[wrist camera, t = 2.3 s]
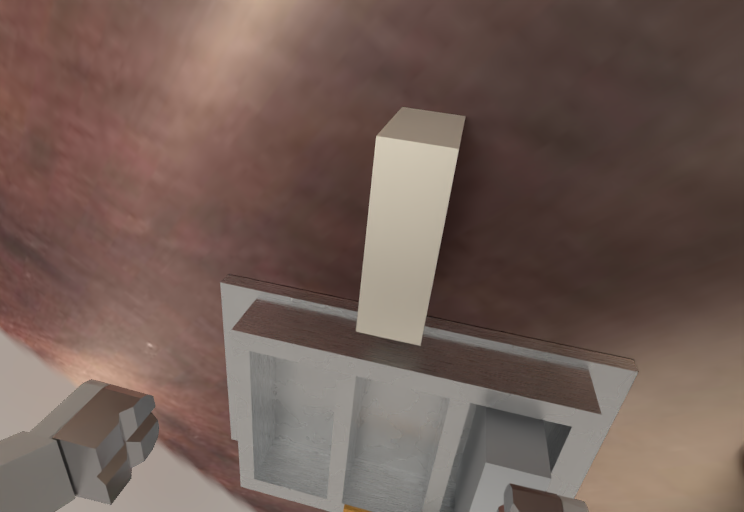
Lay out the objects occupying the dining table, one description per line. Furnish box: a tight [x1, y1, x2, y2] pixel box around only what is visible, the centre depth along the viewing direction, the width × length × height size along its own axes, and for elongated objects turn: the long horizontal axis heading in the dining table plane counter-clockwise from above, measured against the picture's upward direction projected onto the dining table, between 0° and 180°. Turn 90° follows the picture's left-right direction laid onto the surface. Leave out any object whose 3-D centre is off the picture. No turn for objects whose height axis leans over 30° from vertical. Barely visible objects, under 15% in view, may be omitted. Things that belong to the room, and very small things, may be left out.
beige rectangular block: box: [356, 107, 466, 346], centre depth 21 cm, size 3×9×6 cm, turn 174°
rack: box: [220, 274, 638, 512], centre depth 28 cm, size 24×15×5 cm, turn 84°
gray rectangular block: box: [454, 405, 552, 512], centre depth 26 cm, size 3×9×6 cm, turn 174°
